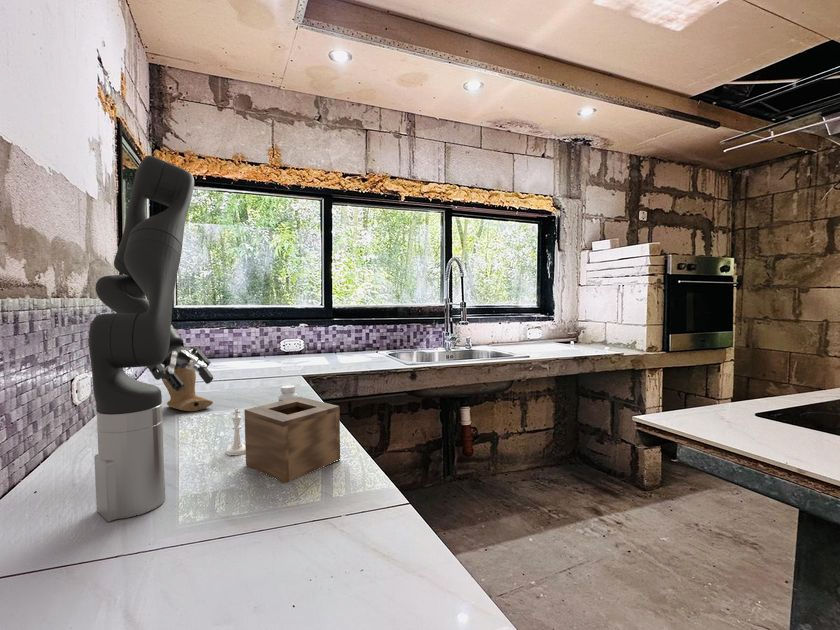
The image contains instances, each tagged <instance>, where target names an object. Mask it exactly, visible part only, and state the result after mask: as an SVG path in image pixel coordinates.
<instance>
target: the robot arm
mask: <svg viewBox="0 0 840 630" xmlns="http://www.w3.org/2000/svg"><path fill="white" fill-rule="evenodd" d="M194 189H195V179H194V176H193V174H192V173H191V172H189V171H188V169H187V170H186V169H185V168H183V167H180V166H178V165H175V164H173V163H170V162H168V161H166V160H164V159H161V158H158V157H156V156H153V155H146V156H145V157H143V158H142V160H141V161H140V163H139V166H138V167H137V170H136V172H135V175H134V179H133V183H132V188H131V191H130V197H129V201H128V205H127V210H126V217H125V222H124V228H123V234H122V237H121V240H120V242H119V245H118V248H117V251H116V253H115V255H114V260H113V266H114V268H115V269H116V270H117V272H119V273H121V274H114V275H113V274H111V275H104V276H101V277H100V278H98V279H97V282H96V283H95V289H94V290H95V293H96V295H97V297H98V299H99V300H100V301H101V302H102V303H103V304H104V305H105V306H106V307H108V308H109V309H110V310H112V311H113V312H114V313H112V312H111V313H102V314H101V313H100V314H98V315H97V316H95V317H94V319H93V320H92V322H91V323H90V326H89V331H88V350H89V359H90V367H91V375H92V378H91V379H92V390H93V396H94V400H95V401H94V402H95V406H96V407H95V409H96V429H97V430H96V431H97V432H96V433H97V434H96V435H97V447H98V448H97V451H98V453H97V454H95V455H94V456H93V457H94V461H93V462H94V478H95V479H94V480H95V501H96V503H95V504H96V505H95V506H96V511H97V512H98V513H99V514H100V515H101V516H102V518H104V520H106V522H112V521H115V520H118V519H119V520H121V519H127V518H132V517H136V515H137V516H141V515H143V514H145V513H147V512H150V511H153V510H155V509H156V508H158V507H159V506H160V505H162V504H163V503H164V502H165V500H166V481H165V480H166V479H165V453H164V452H165V449H164V429H163V428H164V427H163V426H164V424H163V423H164V422H163V403H162V402H163V400H162V398H163V397H162V396H163V395H162V390H161V388H159V387H158V386H157V385H154V384H151V383H146V382H142V381H140V380H138V379H134V378H133V377H132V376H129V375H128V374H127V373H126V372H125V370H124V368H125V369H126V368H127V369H128V368H145V367H146V368H147V369H148V370H149V372H150V373H151V375H152V376H153V378H154V379H155V380H156V381H159V380H162V379H164V380H167V381H168V383H169V384H170V385H171V386H172V388H173V389H175V390H176V391H181V390H182V388H183V387H184V384H183V382H182V381H181V380H180V378H179V377H178V376H177V375H176V374H173V373H174V370H177V369H179V368H187V369H189V370H194V371H195V373H196V372H197V373H198V375H199V376H200V378H201V379H202V381H203V382H204V383H205V384H206V385H207V384H211V382H213V380H214V375H213V374H212V373H211V371H210V370H209V369H208V366H210V365H211V362H212V361H210V359H209V358H208V357H207V356H206V355H205V354H204V352H203V351H202V350H201V349H200V347H198V346H194V347H193V348H192V349H189V348H187V347H185V345H184V339H183V338H182V336H181V335H180V334H179V333H178V332H177V330H176V328H174V326H173V324H172V315H173V304H174V295H175V288H176V281H177V276H178V273H179V268H180V263H181V257H182V251H183V244H184V243H183V242H184V233H185V225H186V222H187V221H186V220H187V217H188V212H189V208H190V205H191V200H192V198H193V194H194ZM147 200H150V201H153V202H156V203H158V204H160V205H164V206H166V207H167V208H166V209H164V210H163V211H161V212H159V213H157V214H154V215H152V216H150V217H148V215H147V211H146V202H147ZM144 297H146V298H144ZM190 361H191V362H192V363H191V364H189V363H190ZM196 365H197V366H196ZM163 366H164V368H163Z"/></svg>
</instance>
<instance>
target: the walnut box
mask: <svg viewBox="0 0 840 630" xmlns="http://www.w3.org/2000/svg"><path fill="white" fill-rule="evenodd" d="M243 410H244V442H245V444H244V445H245V451H246V453H245V466H246V465H247V466H246V467H248V468H251V469H253V470H255V471H257V472H260V473H261V472H262V473H261V474H263V473H264V475H266V474H267V475H266V476H268V475H269V476H268V477H270V476H271V478H272V477H274V478H276V479H277V481H278V480H279V481H278V482H281V483H283V484H286V483H289V482H291V481H293V479H294V480H296V479H298V477H299V478H301V477H303V475H304V476H306V475H308V473H309V474H311V473H313V472H315V471H314V470H316V471H318V470H320V469H319V468H321V467H323V466H326V465H328V464H330V463H332V462H334V461H336V460H339V459H340V460H341V425H340V424H341V422H340V420H341V419H340V418H341V417H340V416H341V415H340V413H341V412H340V405H336V404H332V403H327V402H325V401H319V400H315V399H311V398H306V397H303V396H298V397H297V398H292V399H288V400H284V401H279V400H278V401H276V402H272V403H267V404H263V405H258V406H255V407H249V408H245V409H243ZM328 466H329V465H328ZM326 467H327V466H326ZM323 468H324V467H323ZM317 469H318V470H317ZM321 469H322V468H321ZM312 471H313V472H312ZM310 472H311V473H310ZM274 478H273V479H274ZM295 478H296V479H295ZM276 479H275V480H276ZM290 480H291V481H290Z"/></svg>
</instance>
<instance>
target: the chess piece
mask: <svg viewBox="0 0 840 630" xmlns="http://www.w3.org/2000/svg"><path fill="white" fill-rule="evenodd" d="M239 414H241V410H239V409H238V408H234V412H232V415H234V416H232V417H231V421H232V423H233V426H232V427H231V430H234V435H233V443H232V445H231V446H229V447H227V448H226V450H225V454H226V455H227V456H231V455H235V456H240V455H244V454H246V451H245V444H243V442H242V441H241V433H240V430H241V429H242V428H243V427H242V425H240V424H241V419H242V416H240V415H239Z"/></svg>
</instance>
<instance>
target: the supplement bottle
mask: <svg viewBox="0 0 840 630" xmlns="http://www.w3.org/2000/svg"><path fill="white" fill-rule="evenodd" d="M280 392H281V393H280V394H279V395H278V402H279V401H284V400H288V399H292V398H297V397H299V395H298V393H296V385H293V384H289V385H288V384H287V385H282V386H281V387H280Z"/></svg>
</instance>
